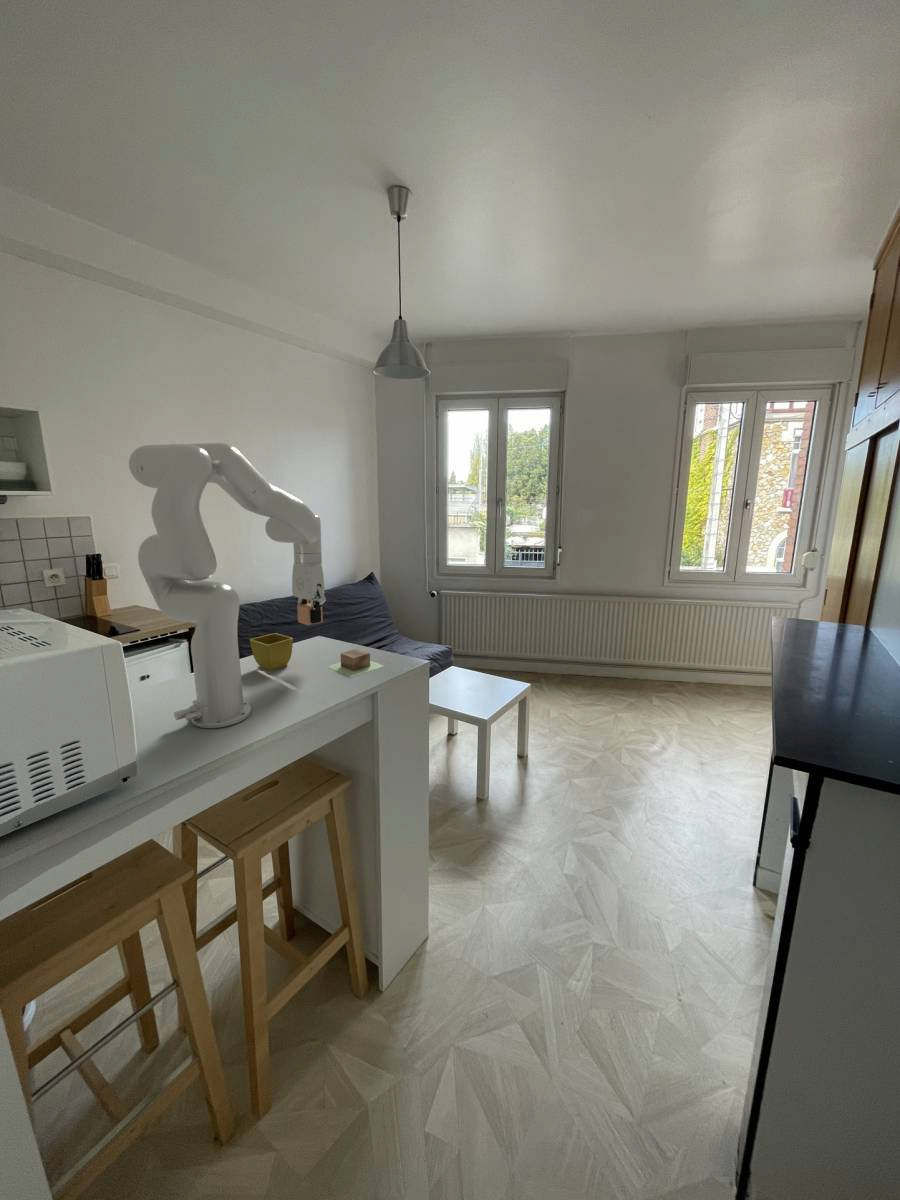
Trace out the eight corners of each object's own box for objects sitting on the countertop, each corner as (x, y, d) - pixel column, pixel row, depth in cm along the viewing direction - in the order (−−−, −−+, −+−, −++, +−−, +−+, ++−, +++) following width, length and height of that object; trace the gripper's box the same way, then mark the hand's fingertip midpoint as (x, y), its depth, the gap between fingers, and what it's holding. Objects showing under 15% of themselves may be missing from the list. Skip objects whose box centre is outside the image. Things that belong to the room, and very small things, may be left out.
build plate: (351, 679, 136) (351, 677, 135) (326, 669, 143) (326, 666, 143) (384, 668, 144) (384, 665, 144) (359, 658, 152) (359, 656, 152)
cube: (307, 625, 139) (307, 608, 138) (298, 622, 142) (297, 605, 141) (322, 622, 143) (322, 605, 142) (313, 619, 146) (312, 602, 145)
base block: (353, 671, 140) (353, 658, 139) (341, 666, 143) (340, 653, 143) (370, 666, 144) (369, 653, 143) (357, 661, 148) (357, 648, 147)
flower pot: (277, 660, 150) (275, 632, 148) (295, 666, 145) (293, 637, 143) (251, 668, 143) (248, 639, 141) (269, 675, 138) (267, 645, 136)
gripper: (280, 556, 141) (283, 618, 145) (313, 562, 130) (315, 628, 134) (303, 554, 147) (305, 614, 151) (337, 560, 136) (338, 624, 140)
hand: (310, 620), depth 142 cm, fingers closed on cube, 5 cm apart
